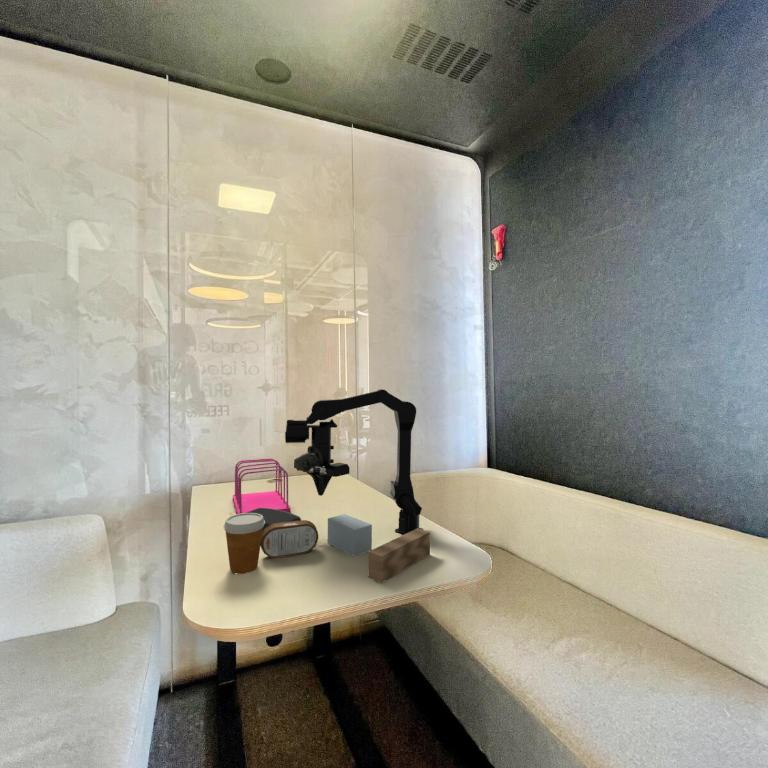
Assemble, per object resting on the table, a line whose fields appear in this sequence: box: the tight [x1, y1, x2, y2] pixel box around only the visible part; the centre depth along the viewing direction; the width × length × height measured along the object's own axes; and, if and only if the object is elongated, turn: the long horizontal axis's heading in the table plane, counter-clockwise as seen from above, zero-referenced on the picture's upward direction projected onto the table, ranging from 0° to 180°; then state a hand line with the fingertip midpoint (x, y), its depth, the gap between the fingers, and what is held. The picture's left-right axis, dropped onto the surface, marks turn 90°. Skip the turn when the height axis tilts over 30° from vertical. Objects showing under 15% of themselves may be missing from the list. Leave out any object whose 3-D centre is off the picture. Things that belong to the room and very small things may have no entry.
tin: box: [260, 519, 319, 559], centre depth 104 cm, size 15×3×8 cm, turn 113°
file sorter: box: [232, 458, 292, 514], centre depth 146 cm, size 17×25×16 cm
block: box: [327, 513, 373, 557], centre depth 110 cm, size 6×12×7 cm, turn 44°
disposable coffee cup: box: [222, 513, 265, 575], centre depth 96 cm, size 10×10×12 cm
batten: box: [367, 527, 431, 584], centre depth 98 cm, size 20×4×6 cm, turn 140°
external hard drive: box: [247, 508, 302, 532], centre depth 124 cm, size 13×19×4 cm
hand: (320, 495), depth 117 cm, fingers closed
